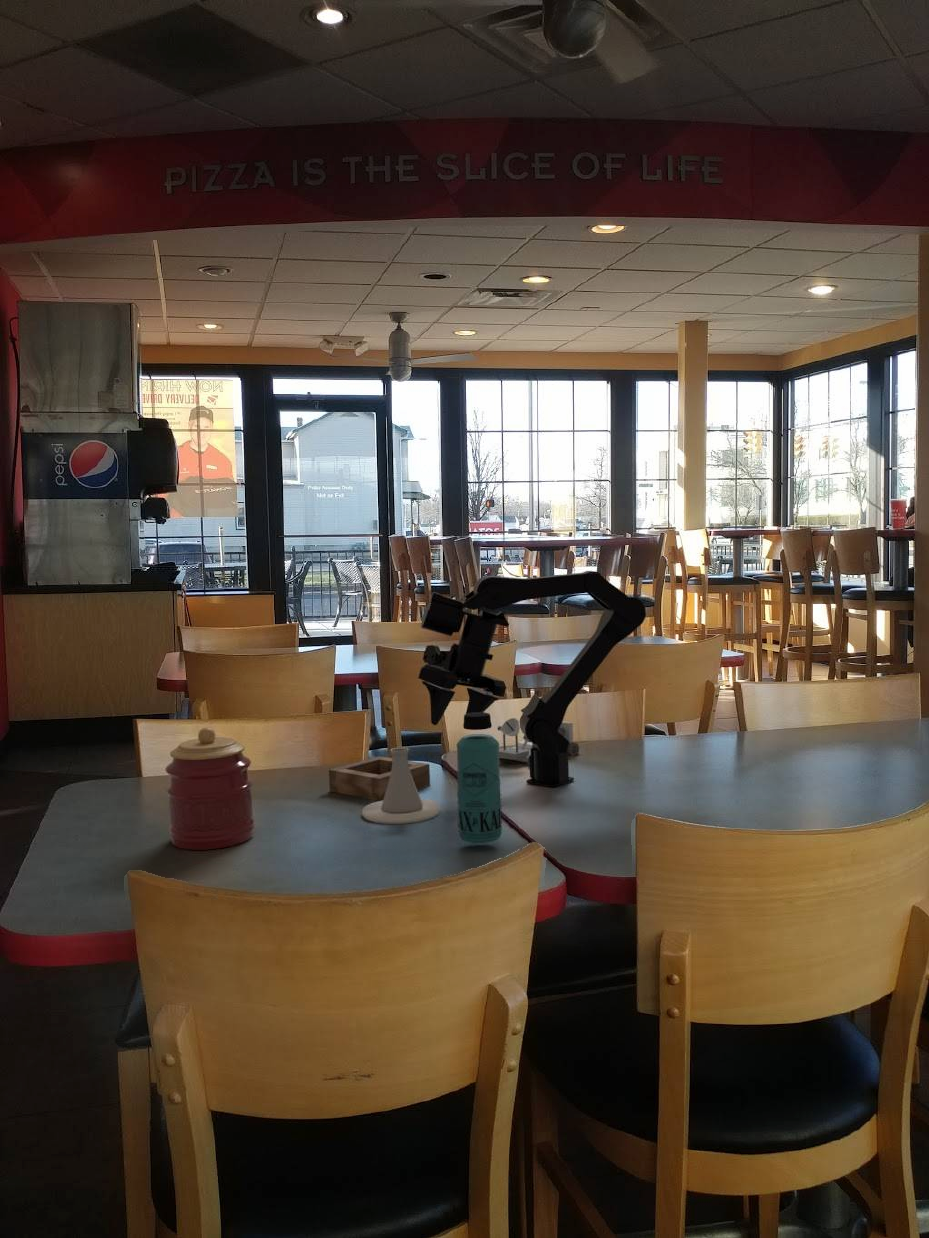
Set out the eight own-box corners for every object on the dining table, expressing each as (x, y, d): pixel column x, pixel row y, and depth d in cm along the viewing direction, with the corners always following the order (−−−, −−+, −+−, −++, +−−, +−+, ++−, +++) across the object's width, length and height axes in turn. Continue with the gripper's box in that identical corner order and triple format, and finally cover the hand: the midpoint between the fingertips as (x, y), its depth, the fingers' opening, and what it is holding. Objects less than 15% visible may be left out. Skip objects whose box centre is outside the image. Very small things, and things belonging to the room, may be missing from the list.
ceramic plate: (456, 809, 174) (456, 804, 174) (402, 828, 164) (402, 823, 164) (400, 798, 182) (400, 794, 182) (346, 816, 173) (345, 811, 173)
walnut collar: (430, 785, 191) (429, 764, 191) (380, 801, 181) (379, 778, 181) (380, 776, 200) (379, 756, 199) (329, 791, 190) (328, 769, 190)
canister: (176, 856, 154) (169, 739, 153) (164, 834, 166) (157, 725, 164) (263, 843, 159) (257, 729, 158) (245, 822, 171) (239, 717, 170)
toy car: (520, 722, 200) (476, 716, 208) (521, 772, 201) (478, 764, 209) (578, 708, 213) (535, 703, 221) (579, 755, 213) (536, 748, 222)
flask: (429, 810, 171) (426, 751, 170) (386, 816, 169) (384, 755, 168) (416, 800, 178) (414, 743, 177) (375, 805, 175) (372, 747, 175)
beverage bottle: (457, 841, 156) (451, 710, 154) (500, 838, 157) (496, 708, 155) (460, 855, 150) (455, 718, 148) (506, 852, 150) (501, 715, 148)
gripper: (473, 638, 199) (450, 716, 200) (409, 624, 185) (384, 708, 185) (518, 654, 192) (493, 734, 193) (454, 641, 177) (428, 728, 178)
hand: (450, 726), depth 187 cm, fingers open, 9 cm apart
